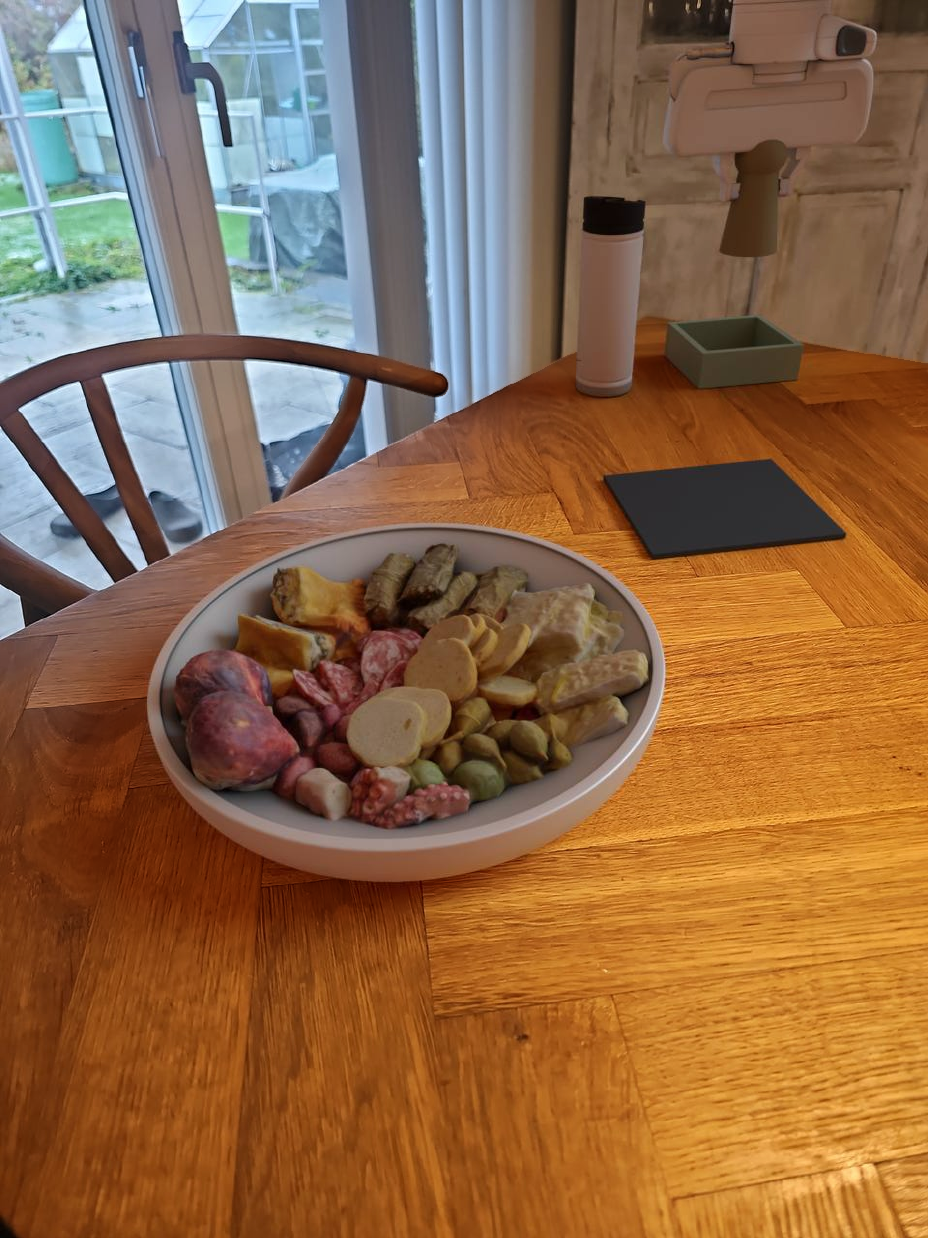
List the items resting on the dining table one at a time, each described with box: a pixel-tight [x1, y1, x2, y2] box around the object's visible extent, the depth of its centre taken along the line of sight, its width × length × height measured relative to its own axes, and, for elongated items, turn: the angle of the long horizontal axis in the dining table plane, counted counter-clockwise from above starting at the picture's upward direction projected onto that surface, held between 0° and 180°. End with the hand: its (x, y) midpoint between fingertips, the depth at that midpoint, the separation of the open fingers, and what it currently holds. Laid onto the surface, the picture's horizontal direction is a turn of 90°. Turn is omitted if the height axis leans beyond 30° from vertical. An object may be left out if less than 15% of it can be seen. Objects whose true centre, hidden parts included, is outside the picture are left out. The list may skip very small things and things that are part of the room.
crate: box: [663, 314, 805, 390], centre depth 98 cm, size 12×12×4 cm
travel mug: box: [575, 195, 646, 398], centre depth 90 cm, size 6×7×20 cm
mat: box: [603, 458, 847, 560], centre depth 73 cm, size 16×14×1 cm
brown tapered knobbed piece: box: [718, 140, 788, 258], centre depth 89 cm, size 6×6×11 cm
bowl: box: [146, 522, 666, 883], centre depth 51 cm, size 30×30×8 cm
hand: (755, 198), depth 89 cm, fingers closed on brown tapered knobbed piece, 4 cm apart
